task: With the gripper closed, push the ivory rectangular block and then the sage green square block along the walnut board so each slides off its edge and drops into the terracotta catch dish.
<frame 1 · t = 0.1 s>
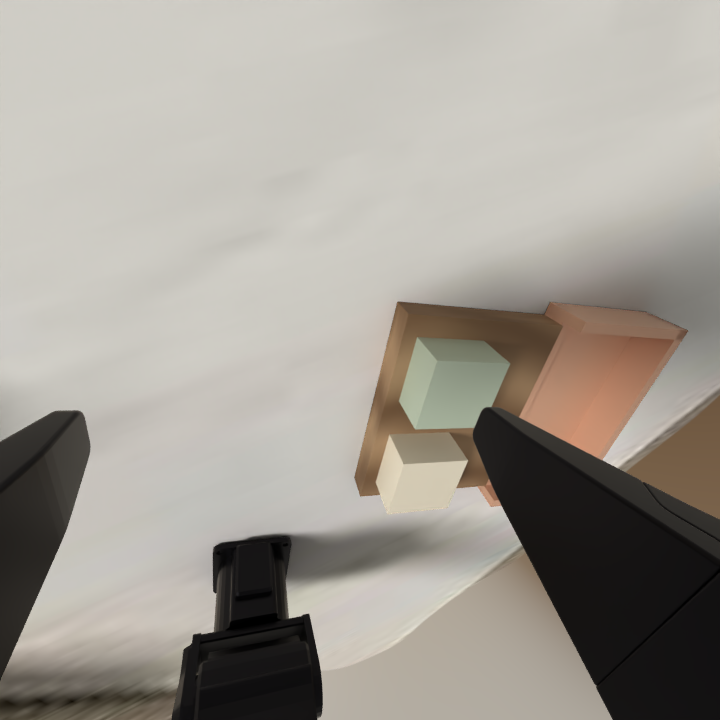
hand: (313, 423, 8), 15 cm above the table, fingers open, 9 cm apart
sage green square block: (440, 371, 25), point 2 cm above the table, touching board
tray: (551, 401, 33), on the table
ivory rectangular block: (411, 457, 29), point 2 cm above the table, touching board
board: (443, 401, 30), on the table
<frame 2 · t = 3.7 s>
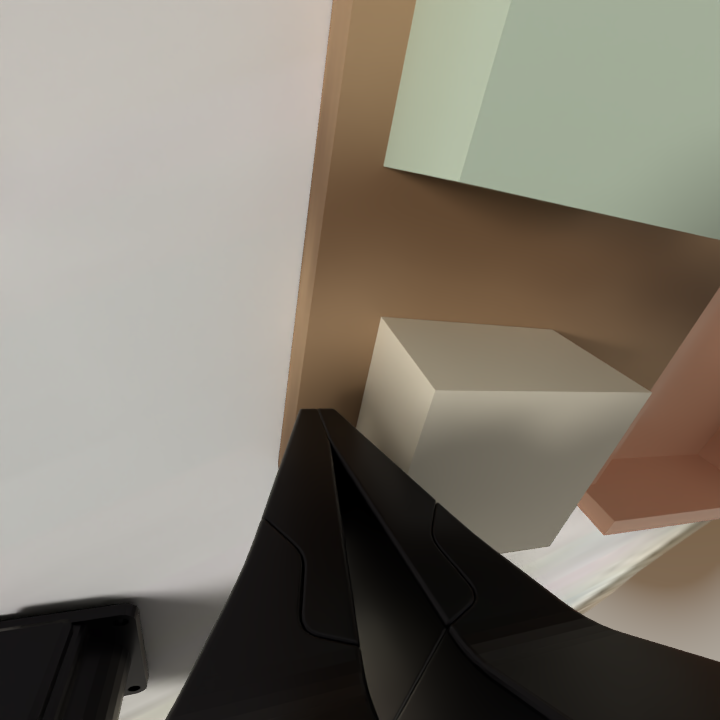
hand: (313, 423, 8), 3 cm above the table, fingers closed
sage green square block: (544, 39, 7), point 2 cm above the table, touching board
ivory rectangular block: (445, 404, 10), point 2 cm above the table, touching gripper
board: (509, 253, 11), on the table
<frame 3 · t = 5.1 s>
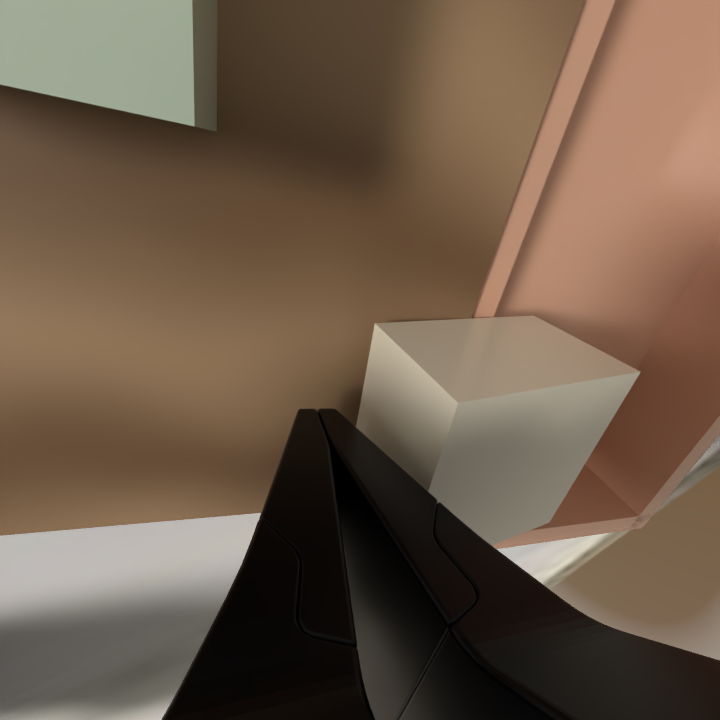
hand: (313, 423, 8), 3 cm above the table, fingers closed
tray: (586, 265, 12), on the table
ivory rectangular block: (438, 400, 10), point 2 cm above the table, tilted 10°, touching board
board: (222, 208, 8), on the table
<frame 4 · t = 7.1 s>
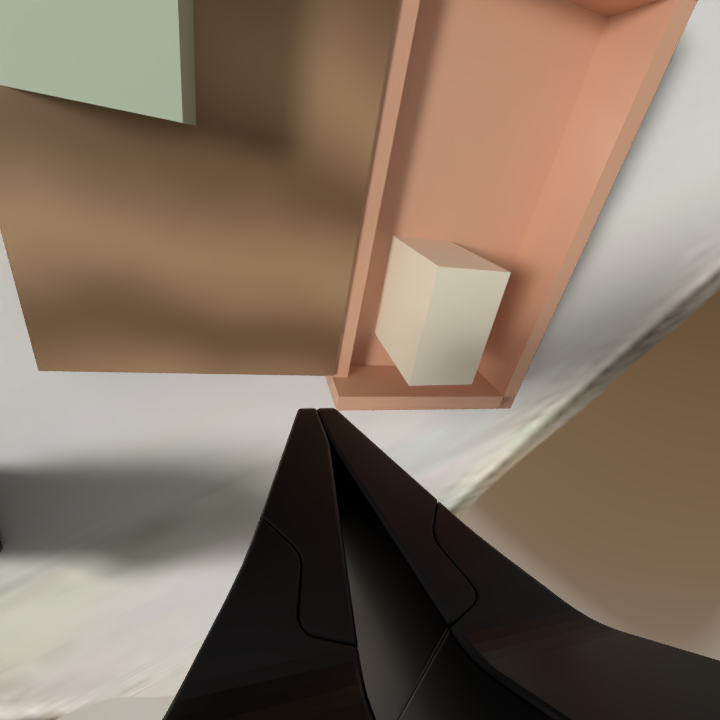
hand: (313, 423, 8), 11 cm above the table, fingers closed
tray: (450, 214, 18), on the table
ivory rectangular block: (400, 306, 16), point 3 cm above the table, tilted 90°, touching tray
board: (203, 172, 14), on the table
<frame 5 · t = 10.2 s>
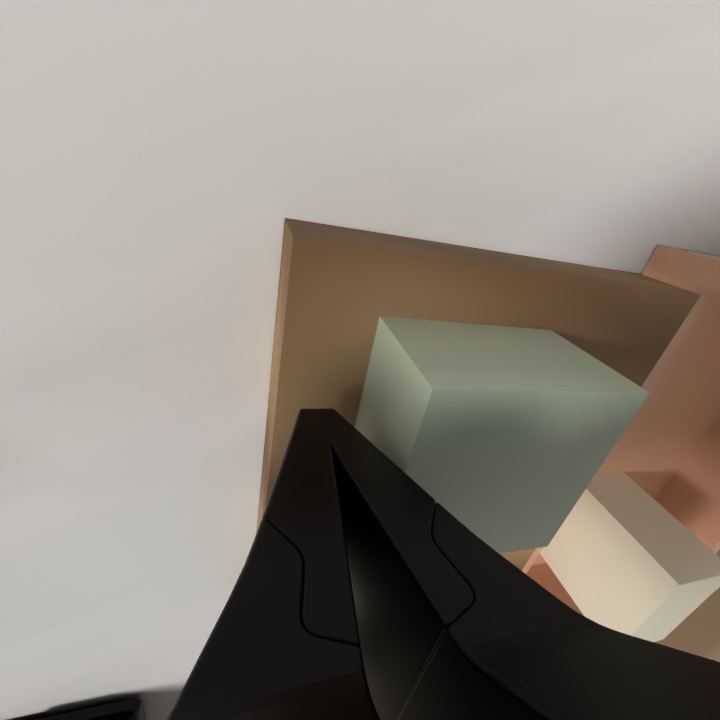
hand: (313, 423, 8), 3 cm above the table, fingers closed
sage green square block: (443, 403, 10), point 2 cm above the table, touching board, gripper
tray: (625, 447, 18), on the table
ivory rectangular block: (592, 560, 16), point 3 cm above the table, tilted 90°, touching tray
board: (421, 456, 14), on the table
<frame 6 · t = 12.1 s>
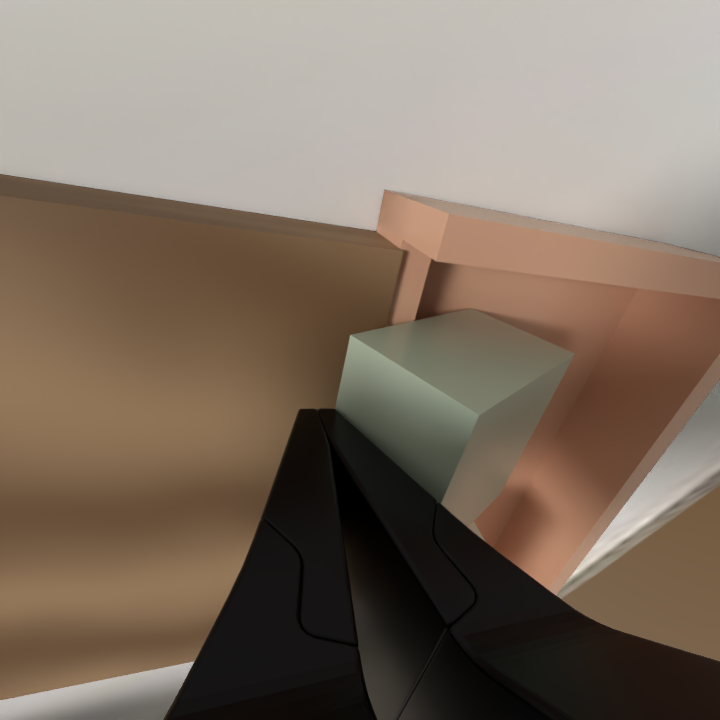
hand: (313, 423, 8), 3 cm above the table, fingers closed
sage green square block: (397, 400, 10), point 2 cm above the table, tilted 30°, touching gripper, tray
tray: (452, 454, 15), on the table
board: (141, 470, 11), on the table
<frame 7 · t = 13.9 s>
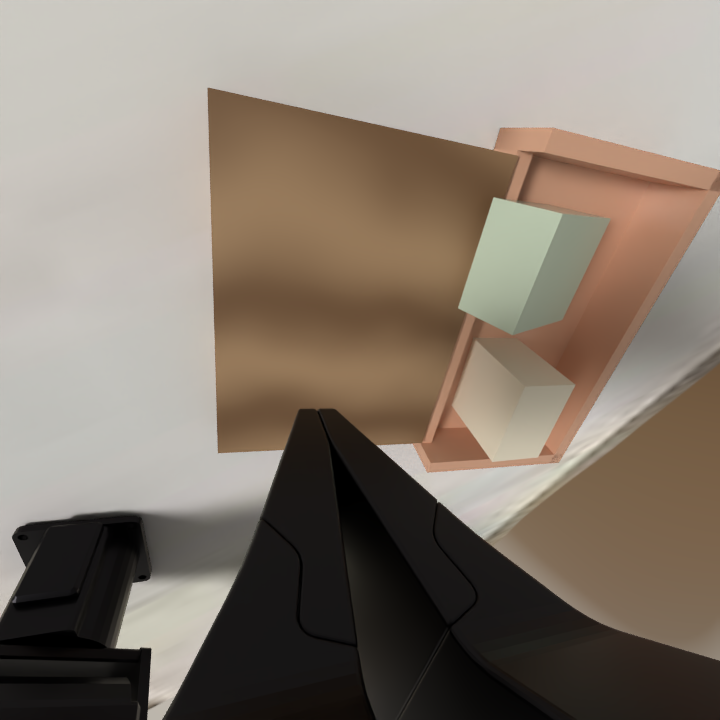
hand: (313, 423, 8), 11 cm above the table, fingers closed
sage green square block: (503, 255, 18), point 2 cm above the table, tilted 25°, touching tray
tray: (517, 317, 22), on the table
ivory rectangular block: (482, 397, 21), point 3 cm above the table, tilted 90°, touching tray
board: (341, 306, 19), on the table
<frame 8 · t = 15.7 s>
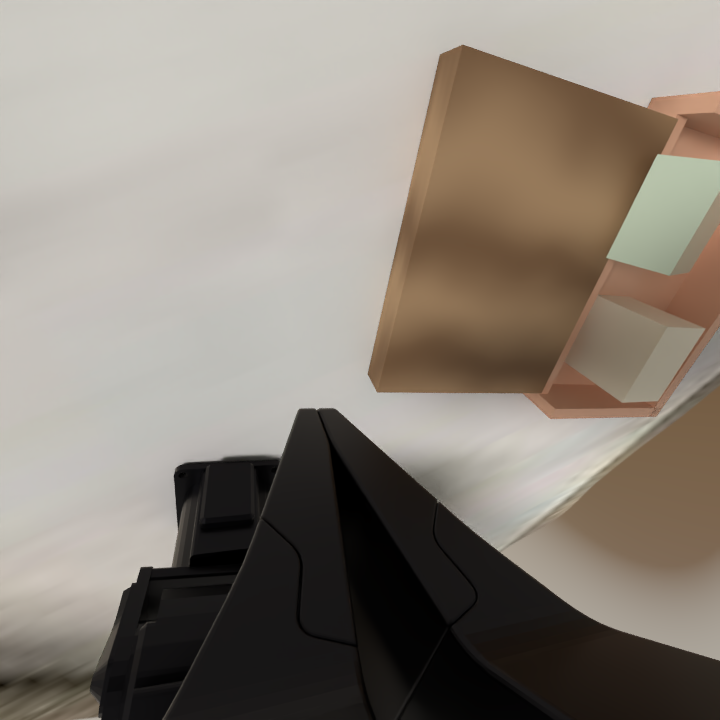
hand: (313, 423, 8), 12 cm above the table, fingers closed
sage green square block: (643, 212, 20), point 2 cm above the table, tilted 25°, touching tray
tray: (630, 278, 25), on the table
ivory rectangular block: (607, 346, 23), point 3 cm above the table, tilted 90°, touching tray
board: (492, 258, 21), on the table
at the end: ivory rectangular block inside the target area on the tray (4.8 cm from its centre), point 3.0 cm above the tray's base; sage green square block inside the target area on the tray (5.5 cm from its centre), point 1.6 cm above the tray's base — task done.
